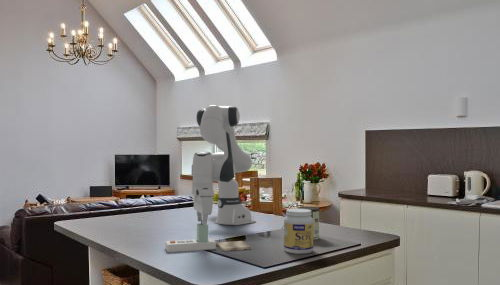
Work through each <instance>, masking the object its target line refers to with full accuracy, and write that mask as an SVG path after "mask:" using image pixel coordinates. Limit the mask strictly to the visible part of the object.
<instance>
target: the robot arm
mask: <svg viewBox="0 0 500 285" xmlns="http://www.w3.org/2000/svg"><path fill="white" fill-rule="evenodd" d="M195 119H196V123H197V126H198V127H199V132H200V135H201V137H202V139H203V140H204V141H205V142H206V143H207V142H208V143H209V144H211V145H215V146H216V147H217V149H219V150H220V152H219V151H217V152H212V153H211V152H209V151H196V152H195V153H194V154H193V156H192V164H191V176H192V181H191V195H194V196H193V210H195V211H196V216H197V218H196V219H197V221H198V222H201V220H202V224H203V225H207V224H208V220H209V219H208V218H209V216H211V215H212V213H213V204H214V198H213V197H214V196H215V190H214V182H217V187H218V197H217V207H218V208H217V215H216V220H215V223H216V224H218V225H231V226H232V225H233V226H239V225H246V224H252V223H256V219H254V218H252V212H251V211H250V209H249V208H247V207H246V206H245V205H244V204H243V202H244V203H245V201H246V200H245V197H240V196H239V194H240V193H239V189H240V187H239V183H238V181H237V180H236V179H235V175H236V173H245V172H248V171H250V169H251V168H252V165H253V162H252V161H253V159H252V157H251V156H250V155H249V153H247V152H245V151H244V150H243V148H241V147H240V146H239V145H238V142H237V138H236V133H235V126H237V125H238V124H239V123H240V122H239V121H240V119H241V115H240V112H239V109H238V107H236V106H233V105H227V106H226V105H215V104H211V105H208V106H207V107H203V108H200V109H199V110H198V111H197V113H196V118H195Z"/></svg>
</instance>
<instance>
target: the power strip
mask: <svg viewBox="0 0 500 285" xmlns="http://www.w3.org/2000/svg"><path fill="white" fill-rule="evenodd" d="M216 243H217V241H215V240H214V239H213V238H208V242H197V238H196V239H195V238H194V239H179V240H165V245H164V246H165V247H164V248H165V250H166V252H167V253H176V252H192V251H203V250H204V251H207V250H216V249H217V245H216Z"/></svg>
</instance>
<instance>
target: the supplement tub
mask: <svg viewBox="0 0 500 285" xmlns="http://www.w3.org/2000/svg"><path fill="white" fill-rule="evenodd" d="M285 214H287V216H286V217H284V219H283V226H284V227H283V249H284V251H285V252H286V253H289V254H295V255H305V254H310V253H312V252H313V250H314V240H313V222H314V221H313V218H312V217H311V215H312V214H311V210H308V209H297V208H287V209H286V212H285Z"/></svg>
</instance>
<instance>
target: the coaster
mask: <svg viewBox="0 0 500 285" xmlns="http://www.w3.org/2000/svg"><path fill="white" fill-rule="evenodd" d="M216 247H218V248H219V249H220V250H223V251H222V252H227V251H229V252H230V251H231V250H232V251H243V250H244V249H247V250H251V249H252V247H251V245H249V244H247V243H246V242H245V241H243V240H238V241H237V240H236V241H222V242H221V241H219V242H217V241H216ZM232 251H231V252H232Z"/></svg>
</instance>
